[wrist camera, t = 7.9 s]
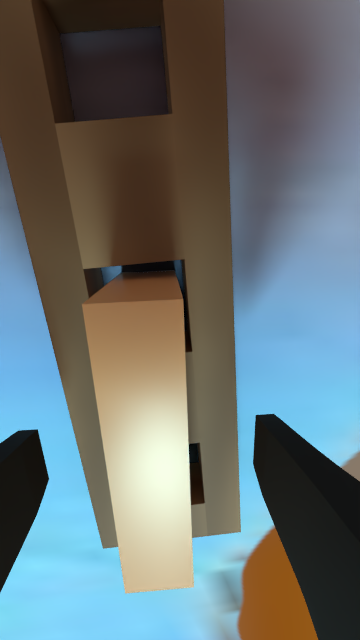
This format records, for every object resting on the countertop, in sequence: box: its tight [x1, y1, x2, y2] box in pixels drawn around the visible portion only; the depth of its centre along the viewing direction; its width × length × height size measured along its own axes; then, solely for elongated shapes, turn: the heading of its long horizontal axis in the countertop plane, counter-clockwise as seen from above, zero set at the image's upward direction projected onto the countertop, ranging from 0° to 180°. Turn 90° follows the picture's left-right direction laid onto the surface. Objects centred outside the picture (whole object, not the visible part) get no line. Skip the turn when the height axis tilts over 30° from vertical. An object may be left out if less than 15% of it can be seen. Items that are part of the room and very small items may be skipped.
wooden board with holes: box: [0, 0, 241, 549], centre depth 11 cm, size 7×24×2 cm, turn 5°
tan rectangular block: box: [82, 270, 194, 593], centre depth 11 cm, size 2×10×6 cm, turn 2°
